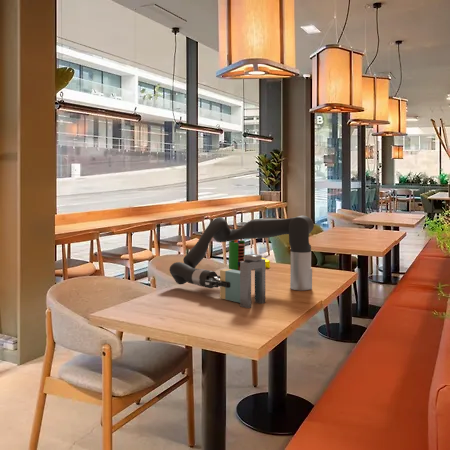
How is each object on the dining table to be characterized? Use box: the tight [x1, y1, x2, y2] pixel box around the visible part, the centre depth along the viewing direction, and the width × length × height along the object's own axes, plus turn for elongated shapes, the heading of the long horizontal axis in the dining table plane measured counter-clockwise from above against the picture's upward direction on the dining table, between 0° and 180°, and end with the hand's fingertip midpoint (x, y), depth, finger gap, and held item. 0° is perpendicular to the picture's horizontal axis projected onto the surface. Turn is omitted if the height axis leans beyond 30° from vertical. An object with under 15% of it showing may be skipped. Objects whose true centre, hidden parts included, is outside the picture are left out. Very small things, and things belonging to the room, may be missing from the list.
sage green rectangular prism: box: [219, 268, 240, 304], centre depth 209 cm, size 13×4×12 cm, turn 47°
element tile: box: [262, 257, 271, 269], centre depth 285 cm, size 15×15×5 cm
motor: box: [228, 239, 246, 271], centre depth 274 cm, size 10×9×20 cm
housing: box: [239, 253, 266, 309], centre depth 202 cm, size 7×11×20 cm, turn 137°
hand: (233, 284), depth 209 cm, fingers closed on sage green rectangular prism, 4 cm apart
